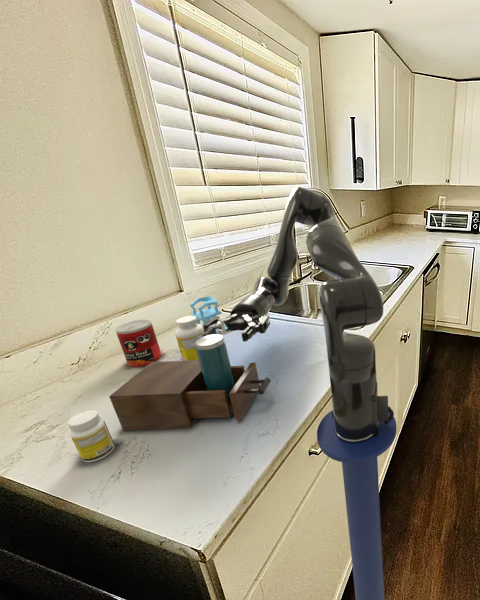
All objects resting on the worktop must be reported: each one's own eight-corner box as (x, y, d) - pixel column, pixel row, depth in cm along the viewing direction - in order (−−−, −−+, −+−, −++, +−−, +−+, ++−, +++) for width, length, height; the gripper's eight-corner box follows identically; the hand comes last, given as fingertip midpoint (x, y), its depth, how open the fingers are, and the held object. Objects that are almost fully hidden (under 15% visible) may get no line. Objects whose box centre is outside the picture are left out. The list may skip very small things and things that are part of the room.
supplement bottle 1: (89, 447, 63) (73, 412, 60) (119, 440, 64) (105, 405, 61) (77, 466, 58) (59, 430, 55) (109, 458, 60) (93, 422, 57)
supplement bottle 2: (187, 356, 94) (175, 315, 90) (212, 352, 96) (202, 312, 91) (180, 368, 88) (168, 325, 84) (208, 364, 90) (197, 322, 85)
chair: (192, 334, 107) (182, 300, 103) (216, 324, 114) (209, 292, 110) (204, 340, 103) (195, 305, 99) (229, 330, 110) (221, 297, 106)
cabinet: (219, 390, 79) (211, 359, 76) (190, 427, 67) (180, 393, 64) (161, 392, 78) (151, 361, 75) (122, 430, 67) (108, 396, 64)
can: (241, 391, 75) (228, 333, 70) (231, 406, 70) (216, 345, 65) (217, 392, 75) (202, 334, 70) (205, 407, 70) (188, 346, 65)
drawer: (278, 386, 79) (273, 362, 76) (261, 419, 68) (256, 392, 66) (207, 389, 78) (201, 364, 76) (179, 422, 67) (171, 395, 65)
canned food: (122, 369, 88) (108, 333, 84) (137, 354, 95) (125, 320, 91) (153, 366, 89) (141, 330, 86) (166, 351, 97) (156, 318, 93)
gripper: (222, 298, 87) (188, 324, 72) (276, 297, 88) (253, 322, 72) (227, 324, 90) (196, 354, 74) (280, 322, 90) (259, 352, 75)
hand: (224, 338), depth 73 cm, fingers open, 8 cm apart
